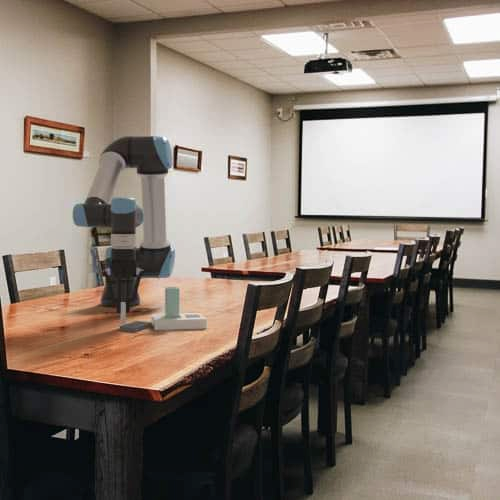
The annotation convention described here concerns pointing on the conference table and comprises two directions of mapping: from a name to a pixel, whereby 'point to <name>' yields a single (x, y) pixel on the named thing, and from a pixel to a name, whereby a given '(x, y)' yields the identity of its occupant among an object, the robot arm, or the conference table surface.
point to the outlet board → (179, 321)
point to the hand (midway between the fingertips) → (123, 323)
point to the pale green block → (171, 302)
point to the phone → (135, 326)
